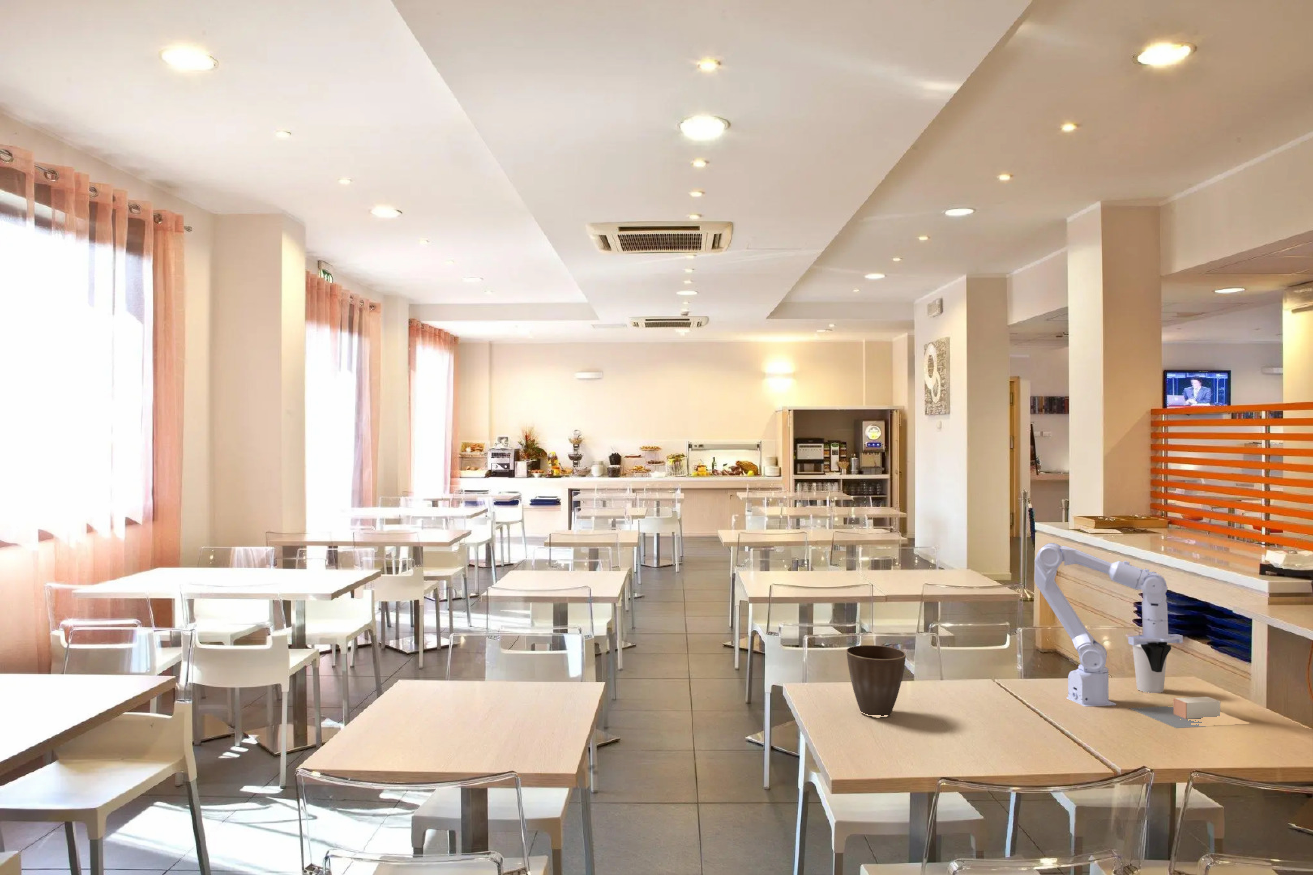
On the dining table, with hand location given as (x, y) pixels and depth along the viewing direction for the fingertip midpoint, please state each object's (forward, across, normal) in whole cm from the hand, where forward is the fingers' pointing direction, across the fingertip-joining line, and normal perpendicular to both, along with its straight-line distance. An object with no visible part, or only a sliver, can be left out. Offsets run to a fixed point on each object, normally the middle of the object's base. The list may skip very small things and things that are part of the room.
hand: (1156, 671), depth 216 cm
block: (+8, +2, -6) cm, 10 cm away
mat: (+11, +4, -6) cm, 13 cm away
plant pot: (+9, -75, +8) cm, 76 cm away
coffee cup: (+11, +12, +18) cm, 24 cm away
